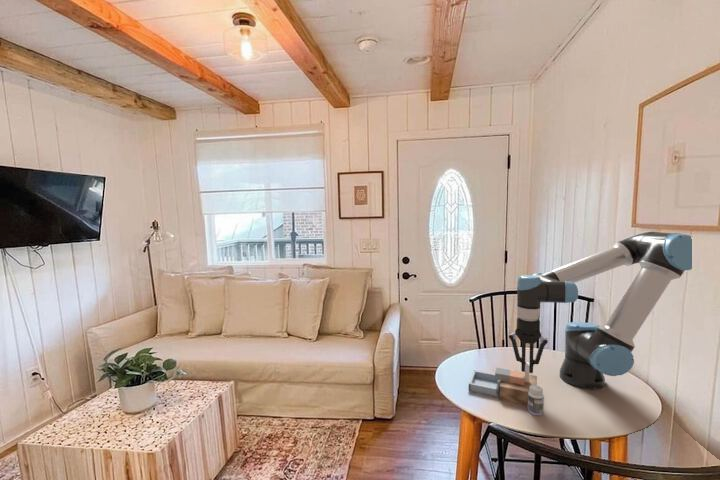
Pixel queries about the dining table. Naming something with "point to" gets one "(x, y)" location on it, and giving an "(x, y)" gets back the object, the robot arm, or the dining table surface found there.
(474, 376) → the tray
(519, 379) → the terracotta tile
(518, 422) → the dining table surface
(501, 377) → the slate-grey tile
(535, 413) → the pill bottle
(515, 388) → the brown block
